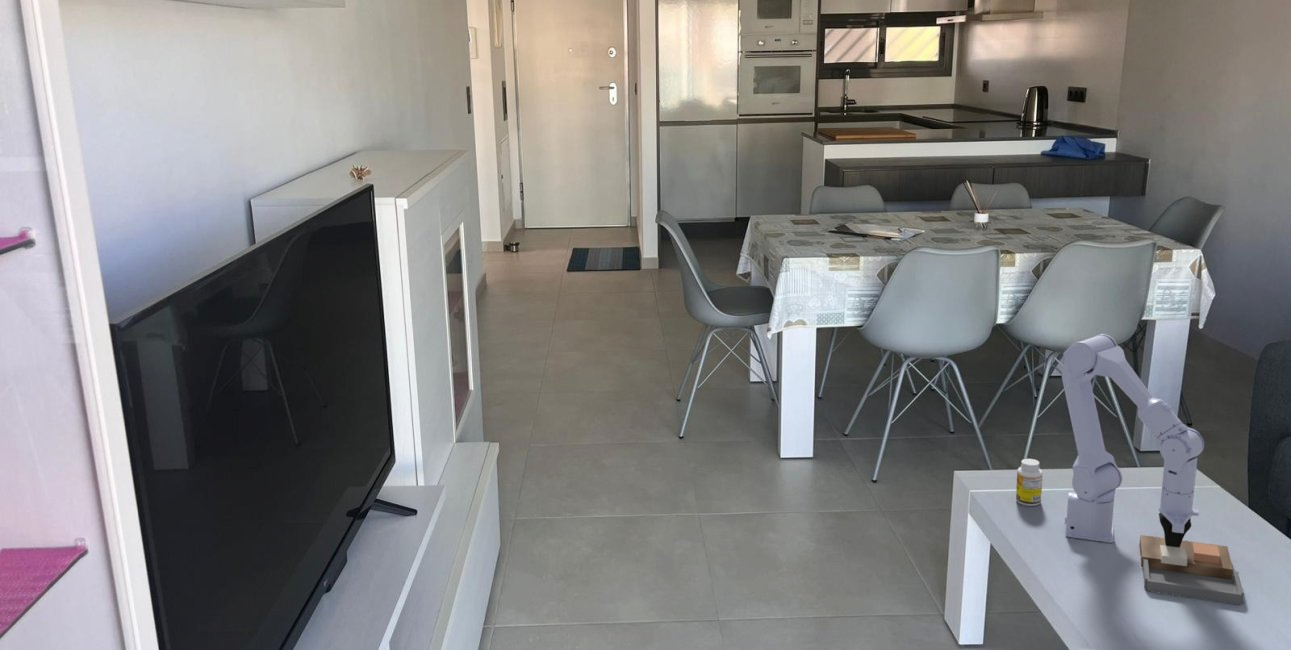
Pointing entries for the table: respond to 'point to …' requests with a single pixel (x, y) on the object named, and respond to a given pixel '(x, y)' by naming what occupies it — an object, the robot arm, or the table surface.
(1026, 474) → the supplement bottle
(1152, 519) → the table surface
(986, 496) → the table surface
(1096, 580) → the table surface
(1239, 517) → the table surface
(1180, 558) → the tile cream
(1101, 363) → the robot arm
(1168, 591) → the box
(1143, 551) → the plate
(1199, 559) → the tile terracotta
